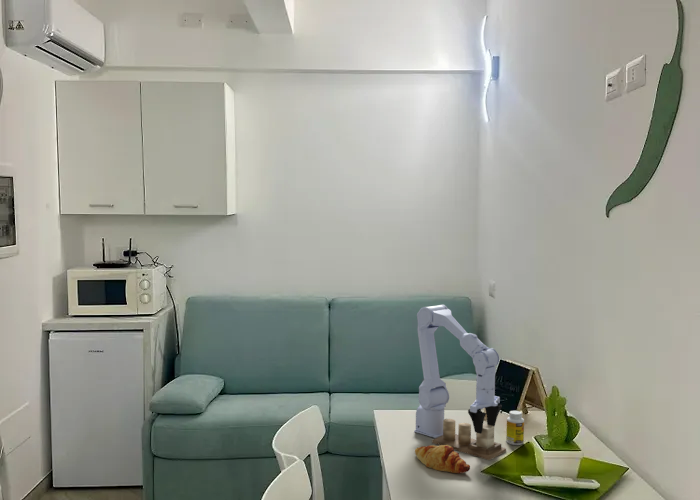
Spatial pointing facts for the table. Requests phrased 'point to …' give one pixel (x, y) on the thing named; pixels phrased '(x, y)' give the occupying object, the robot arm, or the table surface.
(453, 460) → the croissant
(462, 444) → the walnut rail
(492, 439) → the maple block
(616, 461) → the table surface
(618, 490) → the table surface
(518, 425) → the supplement bottle
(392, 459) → the table surface
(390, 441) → the table surface
